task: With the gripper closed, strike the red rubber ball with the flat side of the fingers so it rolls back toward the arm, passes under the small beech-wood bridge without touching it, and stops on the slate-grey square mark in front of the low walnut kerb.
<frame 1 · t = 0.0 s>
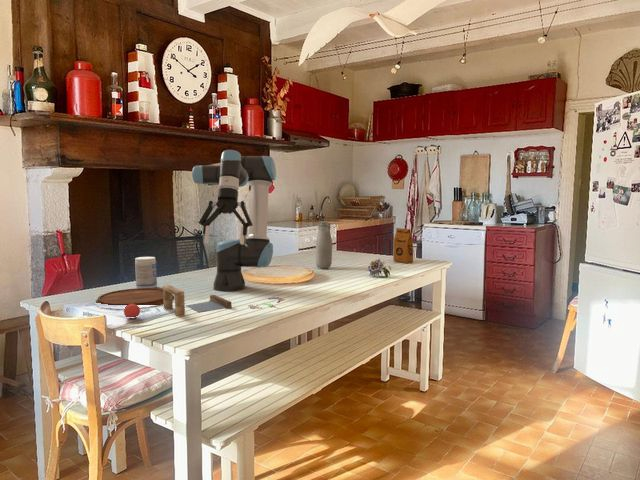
hand: (224, 243, 183), 28 cm above the table, tool tilted 20°, fingers open, 13 cm apart
cutting board: (135, 301, 211), on the table
coffee package: (403, 262, 314), on the table
kerb: (220, 304, 203), on the table
ball: (132, 311, 181), on the table
bridge: (173, 311, 191), on the table
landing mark: (207, 306, 200), on the table
grey bottle: (323, 268, 290), on the table
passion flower: (378, 276, 266), on the table
supplement tub: (146, 288, 235), on the table
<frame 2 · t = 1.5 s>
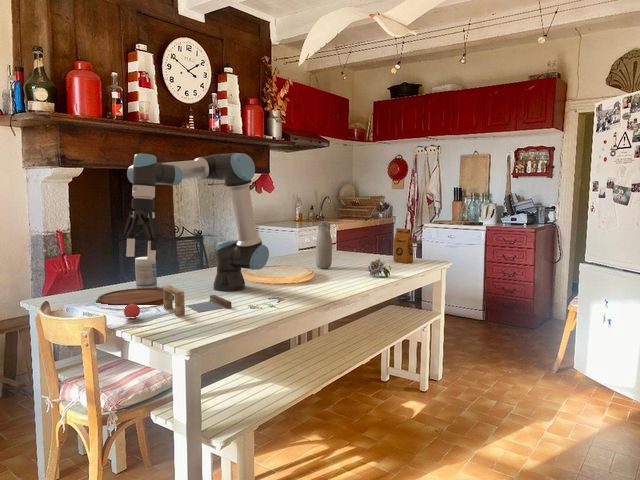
hand: (140, 258, 172), 24 cm above the table, tool pointing down, fingers open, 13 cm apart
nothing on the table moved.
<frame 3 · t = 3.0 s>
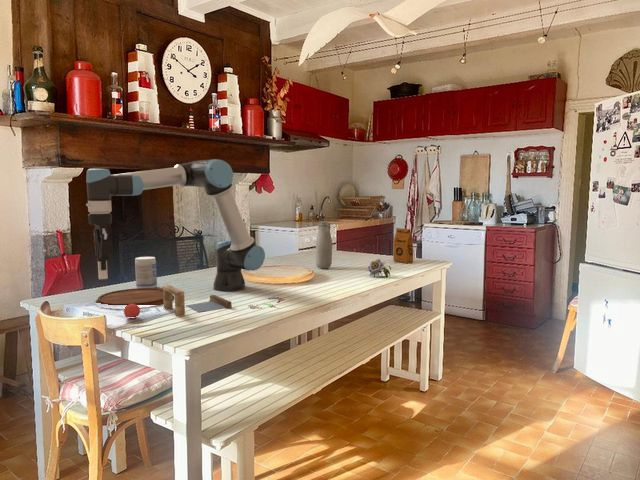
hand: (103, 278, 174), 16 cm above the table, tool pointing down, fingers closed
nothing on the table moved.
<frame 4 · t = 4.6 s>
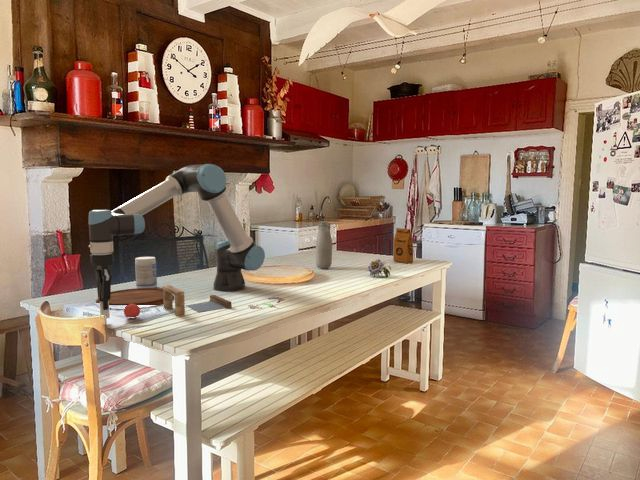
hand: (105, 317, 176), 2 cm above the table, tool pointing down, fingers closed
nothing on the table moved.
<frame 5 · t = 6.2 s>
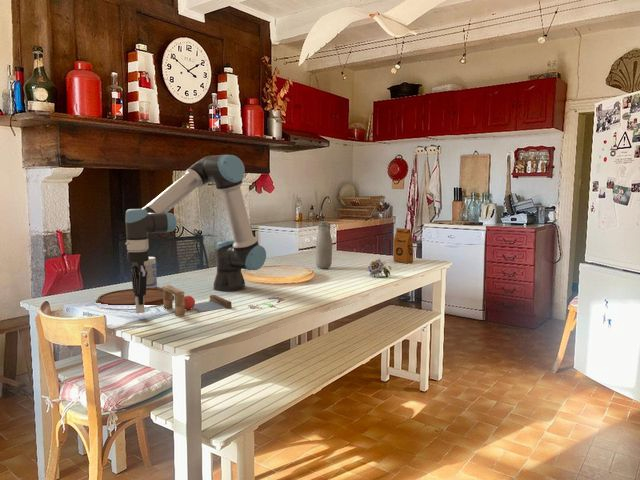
hand: (140, 312, 183), 2 cm above the table, tool pointing down, fingers closed
ball: (187, 302, 195), on the table
everything else where it was.
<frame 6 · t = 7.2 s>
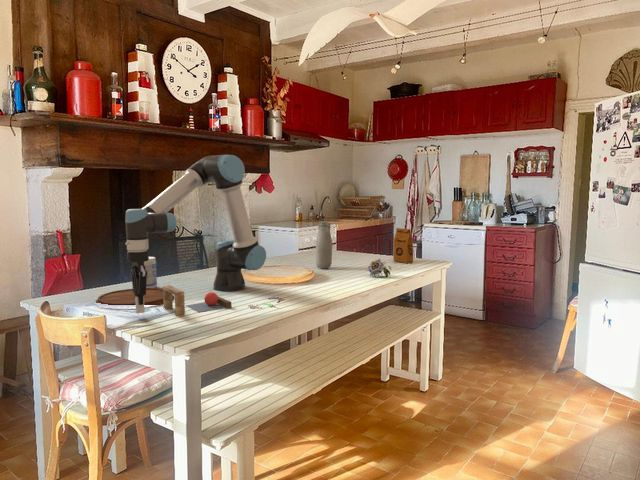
hand: (140, 312, 183), 2 cm above the table, tool pointing down, fingers closed
ball: (211, 299, 201), on the table
everything else where it was.
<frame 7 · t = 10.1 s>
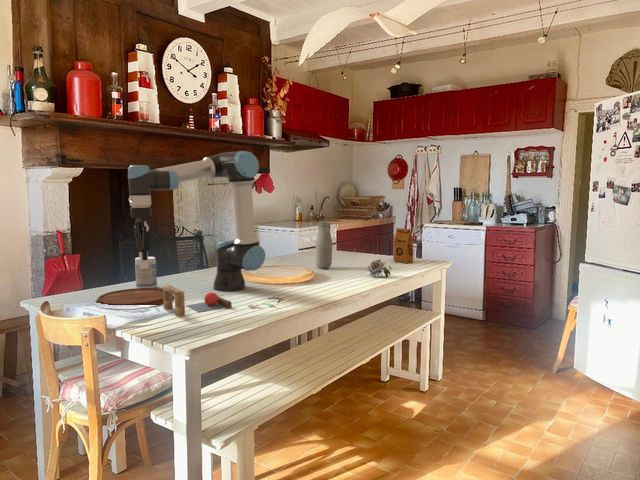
hand: (144, 268, 186), 18 cm above the table, tool pointing down, fingers closed
nothing on the table moved.
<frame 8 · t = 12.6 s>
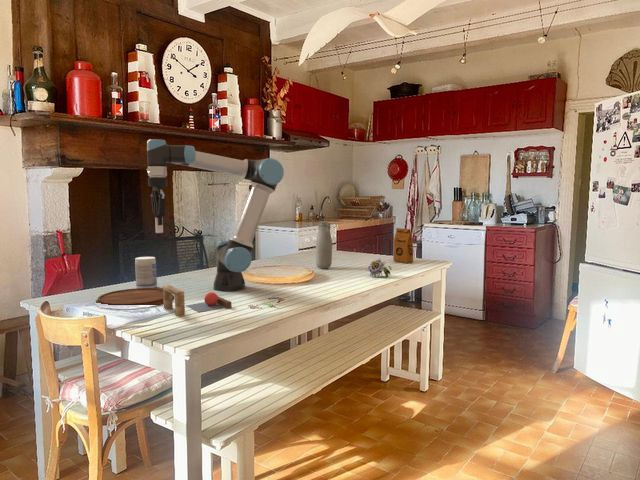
hand: (159, 232, 207), 29 cm above the table, tool pointing down, fingers closed
nothing on the table moved.
at the end: ball 2.1 cm from the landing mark (horizontally); ball never touched bridge; ball at rest at the end (0.0 cm/s) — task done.
